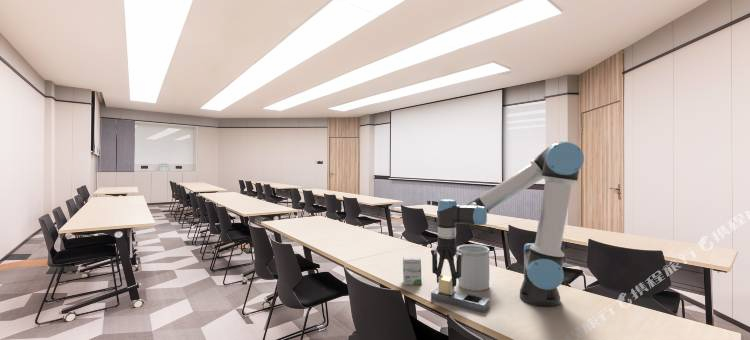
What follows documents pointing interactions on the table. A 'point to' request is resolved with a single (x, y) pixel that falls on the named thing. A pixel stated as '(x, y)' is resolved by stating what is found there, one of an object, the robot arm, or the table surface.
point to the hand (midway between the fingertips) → (446, 292)
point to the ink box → (412, 271)
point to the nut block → (444, 285)
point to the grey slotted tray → (462, 300)
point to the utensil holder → (474, 267)
